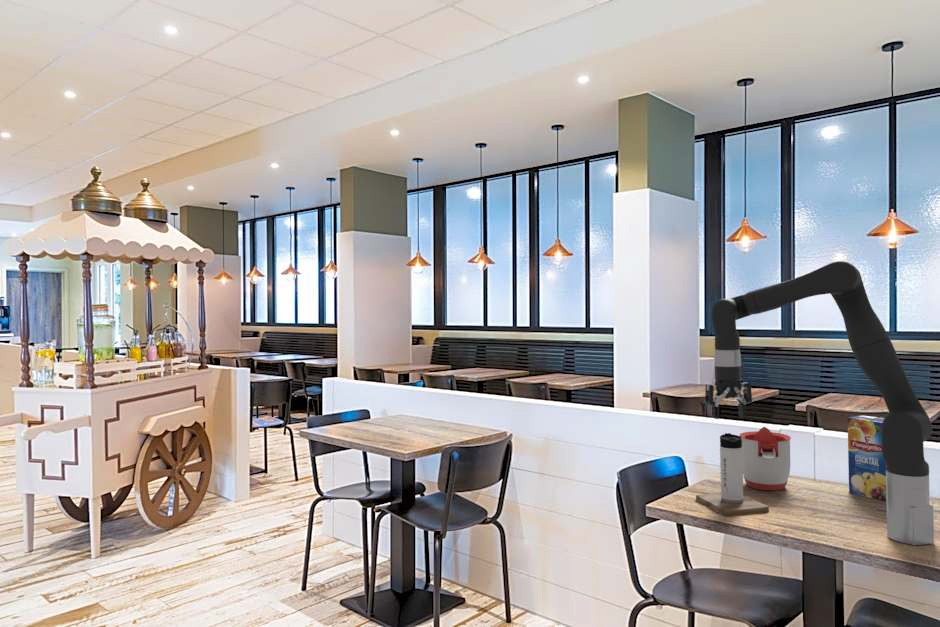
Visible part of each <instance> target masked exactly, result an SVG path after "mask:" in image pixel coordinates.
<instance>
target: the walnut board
mask: <svg viewBox="0 0 940 627" xmlns="http://www.w3.org/2000/svg"><path fill="white" fill-rule="evenodd" d="M695 500H696V501H697V502H699V503H701V504H703V505H704V506H706V507H709V508H710V509H712V510H714V511H715V512H717V511H718V513H720V514H721V515H723V516H726V517H730V516H731V517H732V516H737V515H738V516H742V515H750V514H760V513H761V514H762V513H769V512H770V511H769V510H770V507H769V505H766V504H764V503H762V502H760V501H757V500H755V499H753V498H751V497H749V496H748V495H747V496H746V495H745V494H743V502H742V503H740V504H730V503H725V502H723V501H722V500H721V492H715V493H705V494H696V495H695Z"/></svg>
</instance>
